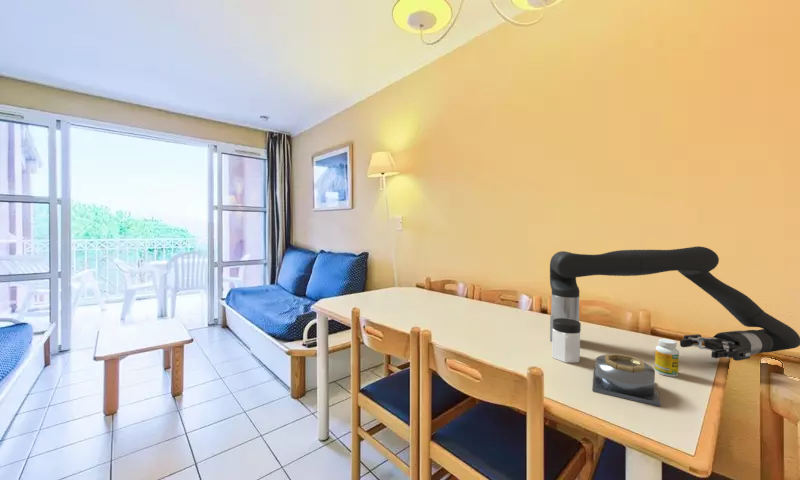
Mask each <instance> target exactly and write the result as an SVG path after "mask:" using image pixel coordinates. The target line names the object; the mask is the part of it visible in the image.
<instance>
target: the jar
mask: <svg viewBox="0 0 800 480" xmlns="http://www.w3.org/2000/svg"><path fill="white" fill-rule="evenodd" d="M581 325H582V324H581V322H580V321H579V322H578V321H576V320H572V319H566V318H557V319H554V320H553V330H552V341H551V346H552V347H551V358H552V359H554V360H557V361H559V362H561V363H566V364H567V363H573V364H574V363H575V364H577V363H578V364H579V363H580V361H581V360H580V358H581V330H582V329H581V328H582V327H581Z"/></svg>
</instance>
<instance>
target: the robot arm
mask: <svg viewBox="0 0 800 480" xmlns="http://www.w3.org/2000/svg"><path fill="white" fill-rule="evenodd" d="M719 261H720V257H719V255H718V254H717V252H715V251H714V250H712V249H711V248H708V247H706V246H700V245H699V246H689V247H685V248H675V249H674V248H673V249H622V250H613V251H609V252H605V253H600V254H586V253H585V254H581V253H574V252H570V251H564V250H563V251H562V250H561V251H558V252H556V253H554V254H553V255H552V257H551V259H550V263H549V284H550V288H551V305H550V306H551V309H550V311H551V312H550V319H549V321H550V323H549V326H550V327H549V341H551V342H552V330H553V320H554V319H557V318H566V319H572V320H576V321H578V322H580V287H579V286H578V284H577V278H581V277H589V276H590V277H591V276H607V277H608V276H613V277H614V276H615V277H616V276H617V277H638V276H646V275H648V276H649V275H653V274H659V273H664V272H672V271H673V272H674V271H676V272H678V273H680V274H681V275H682V276H683V277H685V278H686V279H688V280H689V281H691V282H692V283H693V284H695V285H696V286H697V287H699V288H700V289H702V290H703V292H705V293H707V294H708V295H710V296H711V297H712V298H713V299H714V300H715V301H717V302H718V303H719V304H720V305H721V306H722V307H723V308H725V310H726V311H728V312H729V313H730V314H731V315H732V316H733V317H734V318H735V319H736V320H737V321H738V322H739V323H740V324H741V325H743V326H744V327H747V328H760V329H758V330H757V329H747V330H731V331H721V332H717V333H715V334H714V336H713V337H710V336H709V337H705V336H704V337H702V335H701V334H700V333H698V334H697V333H695V334H687V335H683V339H680V341H679V347H681V348H690V347H696V348H699V349H700V350H708V351H711V358H713V359H721V358H725V359H730V358H731V359H732V360H734V361H742V360H749V359H750V358H751V356H753V355H756V354H758V355H759V354H763V353H771V352H780V351H785V350H792V349H797V348H798V347H799V346H800V335H799V333H798V332H797V331H796V330H795V329H793V328H792V327H791V326H789V325H788V324H786V323H785V322H782V321H780V320H778V319H777V318H776V317H774V316H772V315H770V314H769V313H767V312H766V311H765V310H763V309H762V308H761V307H760V306H759V304H758V303H756V302H755V301H754V300H753V299H751V298H750V297H749V296H748V295H746V294H744V292H742V291H739V290H738V289H736V288H734V287H732V286H730V285H728V284H727V283H725V282H723V281H721V279H720V280H719V279H718V278H717V277H715V276H714V275H713V274H712V273H711V271H713V270H715V268H717V266H718V264H719V263H720V262H719ZM703 343H704V346H703Z"/></svg>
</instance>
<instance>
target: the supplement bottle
mask: <svg viewBox="0 0 800 480" xmlns="http://www.w3.org/2000/svg"><path fill="white" fill-rule="evenodd" d="M679 351H680V350H679V349H677V342H676V340H674V339H673V340H672V339H669V338H659V339H658V345H656V346H655V353H654V355H655V356H654V370H655V373H658V374H659V375H662V376H666V377H670V378H675V377H678V375H679V371H680V370H679V367H680V364H679V363H680V352H679Z"/></svg>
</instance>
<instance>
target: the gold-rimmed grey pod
mask: <svg viewBox="0 0 800 480" xmlns="http://www.w3.org/2000/svg"><path fill="white" fill-rule="evenodd" d="M655 373H656V371H655V368H653V366H651V365H650V364H648V363H646V362H644V360H641V359H638V358H637V357H634V356H631V355H625V354H621V353H609V354H603V355H599V356H597V357H596V358H595V366H593V375H592V390H591V391H592V392H594V393H599V394H602V395H603V394H604V395H607V396H612V397H616V398H620V399H625V400H630V401H634V402H638V403H643V404H647V405H651V406H656V407H661V400H660V397H659V393H658V390H657V388H656V384H655V378H656V377H655Z"/></svg>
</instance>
